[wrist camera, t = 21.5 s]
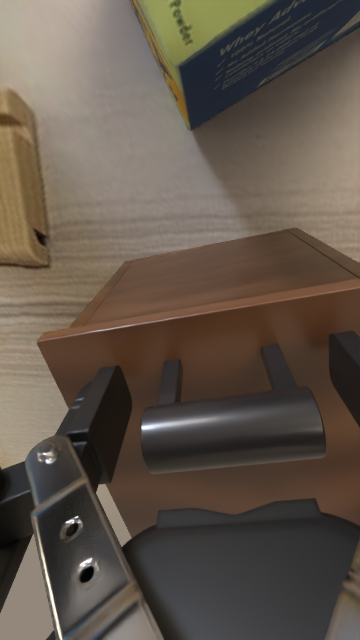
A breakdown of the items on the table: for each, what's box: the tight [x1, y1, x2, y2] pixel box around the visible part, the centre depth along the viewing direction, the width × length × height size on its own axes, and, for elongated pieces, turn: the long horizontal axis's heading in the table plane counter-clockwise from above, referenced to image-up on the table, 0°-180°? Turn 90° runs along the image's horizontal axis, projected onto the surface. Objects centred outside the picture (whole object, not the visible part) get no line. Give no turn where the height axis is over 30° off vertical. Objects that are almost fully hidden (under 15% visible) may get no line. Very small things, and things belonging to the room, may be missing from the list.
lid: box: [37, 278, 360, 538], centre depth 14 cm, size 17×15×6 cm
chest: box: [69, 228, 360, 328], centre depth 23 cm, size 16×15×14 cm
